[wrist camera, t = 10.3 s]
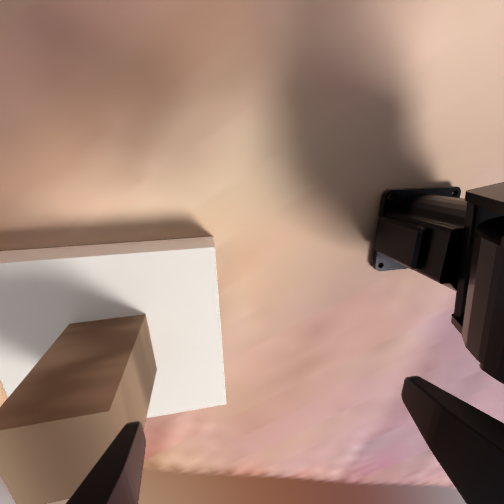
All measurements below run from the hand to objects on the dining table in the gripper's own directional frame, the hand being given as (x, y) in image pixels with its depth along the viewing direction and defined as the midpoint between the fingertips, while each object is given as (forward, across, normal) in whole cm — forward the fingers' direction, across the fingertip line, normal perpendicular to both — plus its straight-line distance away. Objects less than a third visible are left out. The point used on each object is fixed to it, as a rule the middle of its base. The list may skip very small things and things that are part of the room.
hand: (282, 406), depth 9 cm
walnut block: (+9, +9, +4) cm, 13 cm away
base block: (+12, +9, +4) cm, 15 cm away
